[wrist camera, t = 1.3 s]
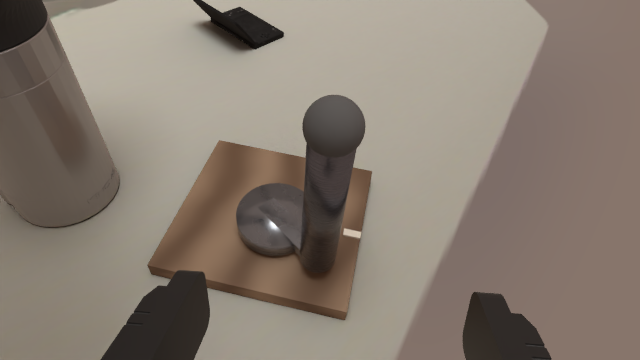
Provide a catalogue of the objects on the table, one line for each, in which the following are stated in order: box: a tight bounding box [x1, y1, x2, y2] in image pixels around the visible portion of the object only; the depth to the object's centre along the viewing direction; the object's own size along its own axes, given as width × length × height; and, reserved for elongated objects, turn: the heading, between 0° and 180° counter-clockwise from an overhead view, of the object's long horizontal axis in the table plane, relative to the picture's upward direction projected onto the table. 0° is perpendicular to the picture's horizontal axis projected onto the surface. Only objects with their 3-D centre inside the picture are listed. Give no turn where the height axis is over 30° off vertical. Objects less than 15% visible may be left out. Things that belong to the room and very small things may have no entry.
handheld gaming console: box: [193, 0, 284, 49], centre depth 61 cm, size 12×7×10 cm
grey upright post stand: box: [236, 95, 365, 273], centre depth 30 cm, size 11×7×17 cm, turn 43°
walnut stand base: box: [148, 140, 372, 320], centre depth 39 cm, size 17×16×2 cm
